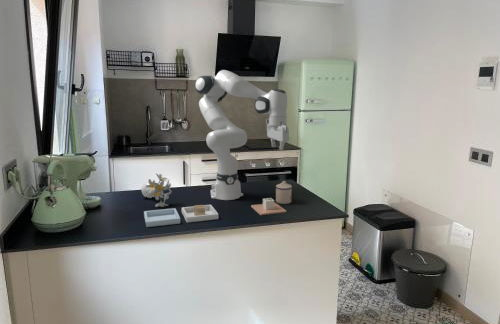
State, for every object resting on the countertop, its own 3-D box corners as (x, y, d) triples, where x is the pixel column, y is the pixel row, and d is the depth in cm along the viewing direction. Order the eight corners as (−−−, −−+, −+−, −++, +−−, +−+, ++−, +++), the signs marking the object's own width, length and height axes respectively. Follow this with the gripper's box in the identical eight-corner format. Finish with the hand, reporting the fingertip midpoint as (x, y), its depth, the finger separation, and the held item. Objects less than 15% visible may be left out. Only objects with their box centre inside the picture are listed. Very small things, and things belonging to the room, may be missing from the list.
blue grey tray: (144, 217, 178) (144, 211, 177) (175, 213, 183) (175, 208, 182) (146, 228, 164) (146, 222, 164) (180, 224, 169) (180, 218, 169)
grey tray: (181, 213, 184) (181, 207, 183) (211, 210, 189) (210, 204, 188) (186, 223, 170) (186, 217, 170) (218, 220, 175) (218, 214, 174)
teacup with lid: (294, 203, 201) (294, 182, 198) (278, 204, 198) (279, 184, 196) (286, 197, 212) (286, 177, 210) (271, 198, 210) (271, 178, 207)
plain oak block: (194, 214, 181) (193, 205, 180) (203, 213, 182) (202, 204, 181) (195, 217, 177) (195, 208, 176) (205, 216, 178) (205, 207, 177)
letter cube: (262, 207, 192) (262, 198, 191) (270, 206, 194) (270, 197, 193) (265, 209, 188) (266, 201, 187) (274, 208, 189) (274, 200, 188)
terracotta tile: (251, 206, 195) (251, 205, 195) (275, 204, 200) (275, 202, 199) (260, 215, 182) (260, 213, 182) (286, 212, 187) (286, 210, 187)
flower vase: (143, 210, 209) (157, 211, 188) (133, 179, 207) (145, 176, 186) (164, 202, 216) (180, 202, 195) (154, 172, 214) (169, 169, 193)
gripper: (292, 123, 179) (291, 151, 182) (275, 119, 198) (275, 145, 201) (280, 123, 177) (280, 152, 180) (264, 120, 196) (264, 145, 198)
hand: (277, 148), depth 190 cm, fingers open, 8 cm apart
